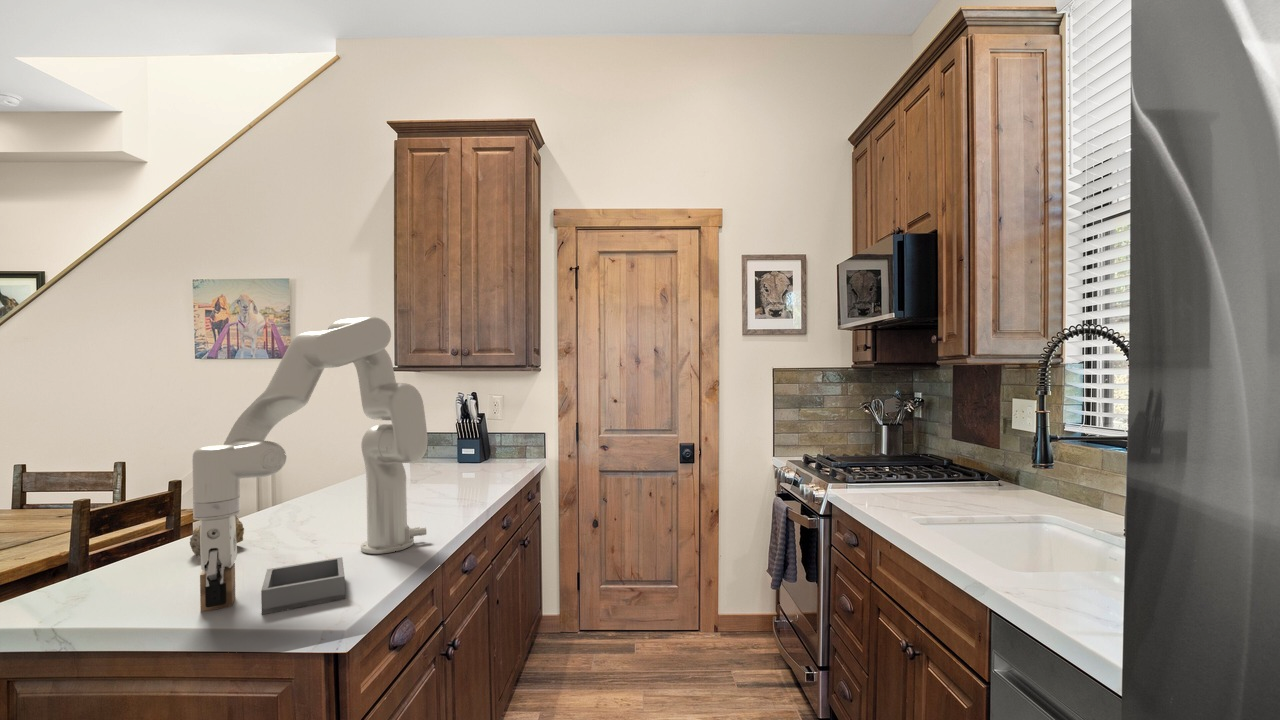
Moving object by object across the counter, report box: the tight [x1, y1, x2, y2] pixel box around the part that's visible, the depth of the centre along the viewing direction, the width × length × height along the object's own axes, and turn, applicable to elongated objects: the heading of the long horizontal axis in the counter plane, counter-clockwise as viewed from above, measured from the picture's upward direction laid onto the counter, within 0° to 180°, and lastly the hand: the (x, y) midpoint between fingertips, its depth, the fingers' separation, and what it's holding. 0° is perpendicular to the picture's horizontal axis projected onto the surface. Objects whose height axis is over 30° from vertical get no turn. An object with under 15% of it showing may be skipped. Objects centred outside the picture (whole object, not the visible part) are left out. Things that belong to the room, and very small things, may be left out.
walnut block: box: [199, 562, 236, 612], centre depth 115 cm, size 5×5×7 cm
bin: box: [260, 556, 346, 616], centre depth 119 cm, size 14×14×4 cm
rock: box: [189, 514, 245, 556], centre depth 150 cm, size 11×12×10 cm
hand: (218, 599), depth 115 cm, fingers open, 5 cm apart
